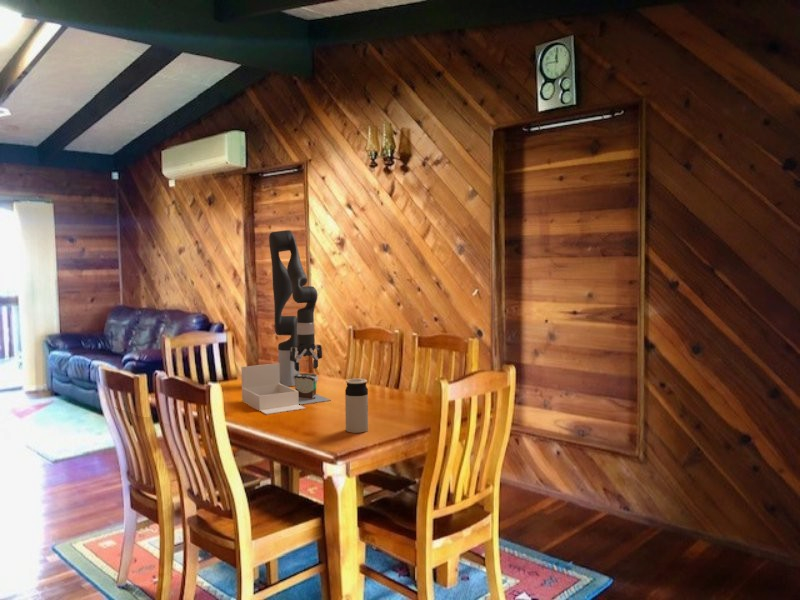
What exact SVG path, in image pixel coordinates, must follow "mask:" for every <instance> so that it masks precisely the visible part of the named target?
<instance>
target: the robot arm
mask: <svg viewBox="0 0 800 600" xmlns="http://www.w3.org/2000/svg"><path fill="white" fill-rule="evenodd" d="M268 237H269V238H268V245H269V252H270V259H271V271H272V272H271V273H272V274H271V275H272V291H273V292H272V293H273V302H274V305H273V306H274V332H275V334H276V335H277V336H290V337H289V339H287V340H285V341H283V342H282V341H281V342H280V343H279V344H278V345H277V346H278V347H277V348H278V349H277V351H278V352H277V354H278V356H277V358H278V363H279V370H280V384H282V385H284V386H287V387H295V381H294V379H293V376H294V374H299V373H300V371H301V370H300V368H301V367H300V362H299V361H300V360H301V359H302V358H303V357H310V356H311V357H312V358H313V360H312V361H313V362H312V363H313V365H312V367H313V369H315V370H316V369H318V367H319V360H320V359H322V358H323V351H322V349H323V348H322V344H315V343H316V342H315V339H316V338H315V336H316V335H315V333H316V331H315V320H314V319H315V317H314V316H315V315H314V313H315V308H316V303H317V300H318V290H317V289H316V287H314V286H307V285H306V284H307V283H308V277H307V275H306V272H305V270H304V268H303V265H302V261H301V258H300V252H299V249H298V244H297V242H296V238H295V235H294V233H293V232H292V230H290V229H289V230H287V229H286V230H278V231H272V232H271V233H269V235H268ZM287 251H290V259H289V261H288V264H287V267H286V266H285V265H284V264H283V262H282V259H281V257H280V253H282V252H287ZM305 285H306V286H305ZM291 297H292V299H293V301H294V302H295V303H297V304H305V303H306V305H305V306H304V307H302V308H299V309H297V311H296V313H297V314H296V315H297V316H295V315H282V312H283V310H284V308H285V305H286V304H287V302H288V301H289V300H290V298H291ZM315 350H316V353H315Z"/></svg>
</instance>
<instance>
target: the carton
mask: <svg viewBox="0 0 800 600" xmlns="http://www.w3.org/2000/svg"><path fill="white" fill-rule="evenodd" d="M240 372H241V400H242V401H243V402H244V404H245V403H246V404H245V405H247V404H248V406H249V405H250V406H249V407H251V408H253V409H254V410H257V411H258V410H259V412H260V411H261V412H260V413H263V414H264V415H266V416H267V415H273V414H274V413H275V414H281V413H287V411H288V412H295V411H300V410H299V409H301V410H306V409H307V407H305V406H304V405H299V394H298V391H297V390H295V388H291V387H290V386H284V385H282V384H280V370H279V362H278V363H277V362H276V363H275V362H274V363H268V364H257V365H248V366H241V371H240ZM242 401H241V402H242ZM243 402H242V403H243ZM294 410H295V411H294ZM280 412H281V413H280Z"/></svg>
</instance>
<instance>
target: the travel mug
mask: <svg viewBox="0 0 800 600" xmlns="http://www.w3.org/2000/svg"><path fill="white" fill-rule="evenodd" d="M367 382H368V380H367V379H365V378H349V379H346V380H345V383H346V385H347V386H346V388H345V390H344V391H345V392H344V393H345V394H344V395H345V398H344V399H345V431H346V432H349V433H350V432H351V433H352V434H362V432H363V433H366V432H367V431H369V389H368V387H367Z"/></svg>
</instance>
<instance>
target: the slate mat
mask: <svg viewBox="0 0 800 600" xmlns="http://www.w3.org/2000/svg"><path fill="white" fill-rule="evenodd" d="M324 401H326V402H331V401H332V399H329V398H327V397H324V396H322V395H320V394H317V393H316V397H315V399H313V400H312V399H305V398H299V404H300V405H301V406H304V405H303V404H306V405H311V404H310V403H313V404H317V403H316V402H319V403H325V402H324Z"/></svg>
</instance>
